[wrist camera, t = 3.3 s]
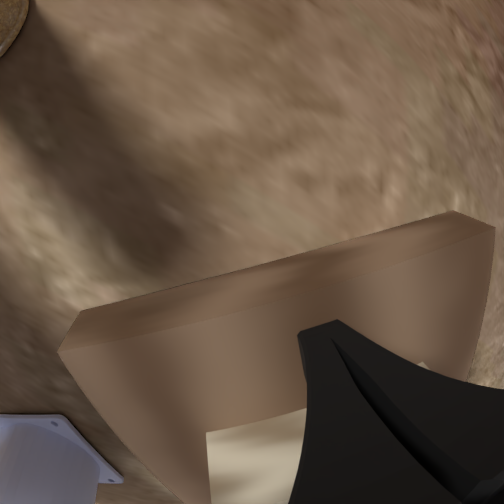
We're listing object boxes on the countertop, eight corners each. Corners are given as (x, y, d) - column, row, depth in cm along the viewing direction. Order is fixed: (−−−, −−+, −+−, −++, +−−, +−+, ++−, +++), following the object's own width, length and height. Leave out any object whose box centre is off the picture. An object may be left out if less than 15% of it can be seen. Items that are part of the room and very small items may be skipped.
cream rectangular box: (236, 479, 13) (246, 541, 9) (205, 432, 11) (212, 513, 7) (409, 421, 14) (442, 471, 10) (422, 361, 12) (471, 418, 8)
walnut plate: (188, 473, 17) (190, 508, 14) (80, 311, 12) (56, 351, 9) (430, 397, 18) (450, 423, 15) (452, 210, 13) (495, 227, 10)
